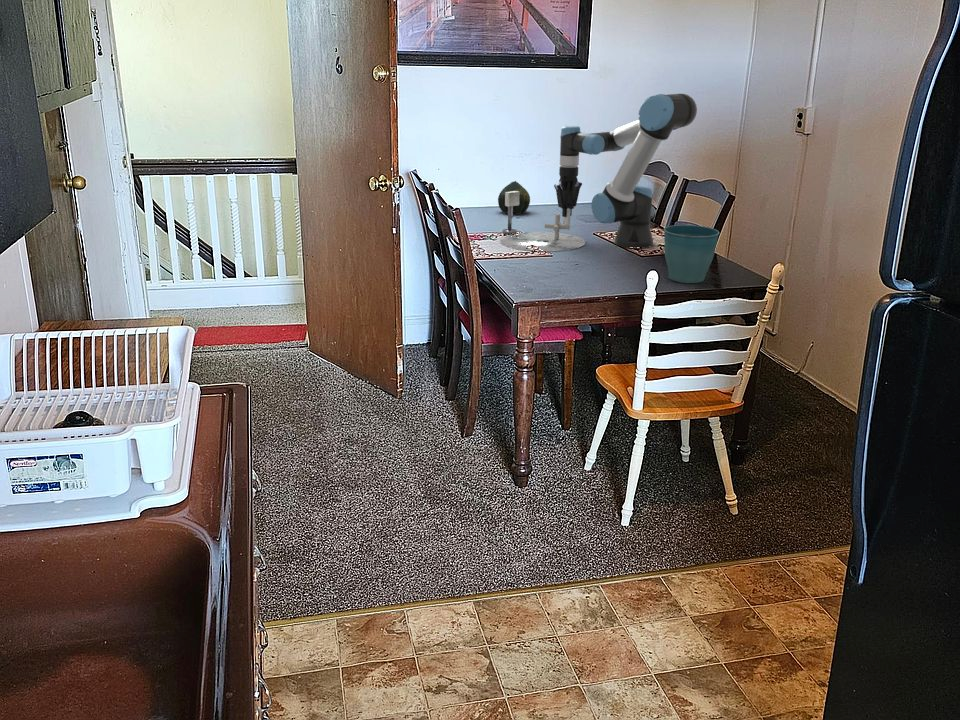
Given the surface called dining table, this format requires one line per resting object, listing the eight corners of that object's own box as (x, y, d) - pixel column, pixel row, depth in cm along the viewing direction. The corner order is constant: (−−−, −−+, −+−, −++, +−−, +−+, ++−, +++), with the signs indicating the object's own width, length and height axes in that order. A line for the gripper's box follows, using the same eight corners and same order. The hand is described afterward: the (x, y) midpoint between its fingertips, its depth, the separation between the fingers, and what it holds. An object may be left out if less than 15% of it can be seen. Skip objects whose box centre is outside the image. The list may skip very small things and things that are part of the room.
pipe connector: (570, 237, 352) (571, 212, 349) (567, 242, 343) (568, 217, 340) (546, 235, 354) (547, 211, 351) (542, 240, 345) (543, 215, 341)
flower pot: (705, 272, 301) (710, 224, 295) (721, 286, 284) (726, 236, 278) (654, 272, 301) (658, 224, 295) (667, 286, 284) (671, 236, 278)
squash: (510, 205, 388) (525, 178, 391) (487, 202, 399) (502, 175, 401) (526, 223, 398) (541, 196, 401) (504, 219, 408) (518, 193, 411)
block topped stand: (519, 233, 360) (520, 191, 354) (508, 234, 356) (508, 193, 350) (510, 230, 364) (511, 189, 358) (499, 232, 361) (500, 191, 355)
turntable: (602, 244, 341) (603, 243, 341) (536, 255, 323) (536, 254, 323) (548, 229, 367) (548, 228, 367) (484, 239, 349) (484, 238, 349)
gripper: (575, 163, 348) (572, 221, 356) (550, 166, 341) (548, 224, 349) (587, 165, 342) (584, 224, 350) (562, 168, 335) (559, 228, 343)
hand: (566, 224), depth 350 cm, fingers closed
